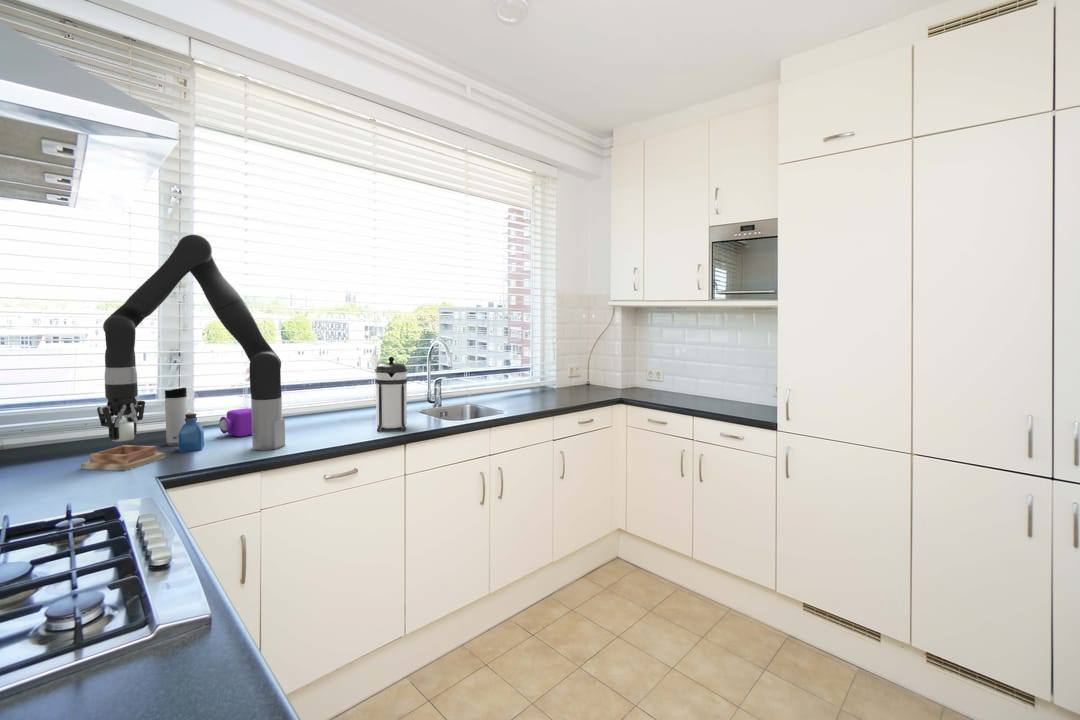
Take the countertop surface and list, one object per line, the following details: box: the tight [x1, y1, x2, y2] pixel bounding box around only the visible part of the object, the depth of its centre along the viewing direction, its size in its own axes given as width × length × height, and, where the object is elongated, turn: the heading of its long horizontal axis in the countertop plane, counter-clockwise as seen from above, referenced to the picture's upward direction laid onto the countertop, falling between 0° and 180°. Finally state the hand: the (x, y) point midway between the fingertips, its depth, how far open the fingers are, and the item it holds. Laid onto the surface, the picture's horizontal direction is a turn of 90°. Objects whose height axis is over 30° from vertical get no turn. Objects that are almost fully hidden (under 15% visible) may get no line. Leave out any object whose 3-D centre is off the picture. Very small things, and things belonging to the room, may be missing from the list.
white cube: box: [111, 420, 135, 442], centre depth 151 cm, size 5×5×5 cm
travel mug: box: [164, 387, 189, 447], centre depth 175 cm, size 6×7×20 cm
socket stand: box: [80, 444, 166, 471], centre depth 152 cm, size 14×14×4 cm
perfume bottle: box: [178, 412, 205, 453], centre depth 169 cm, size 6×6×12 cm
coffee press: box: [374, 356, 409, 433], centre depth 206 cm, size 17×16×30 cm
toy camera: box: [218, 407, 252, 438], centre depth 190 cm, size 11×14×10 cm
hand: (123, 437), depth 151 cm, fingers closed on white cube, 5 cm apart
